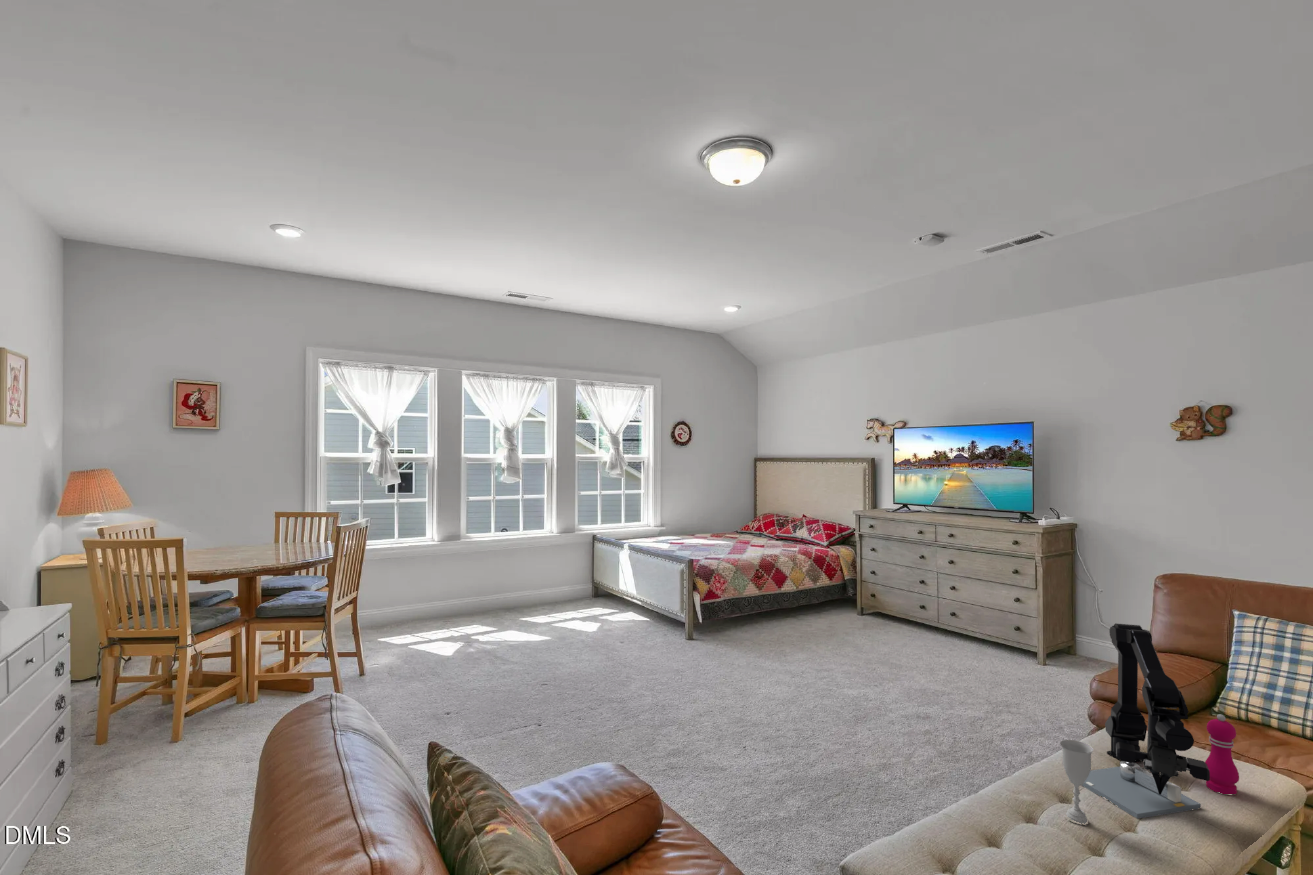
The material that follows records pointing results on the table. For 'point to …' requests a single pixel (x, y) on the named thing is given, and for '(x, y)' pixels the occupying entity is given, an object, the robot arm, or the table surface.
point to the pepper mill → (1221, 756)
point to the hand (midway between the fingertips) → (1159, 793)
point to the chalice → (1076, 772)
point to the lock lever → (1148, 780)
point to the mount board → (1134, 795)
